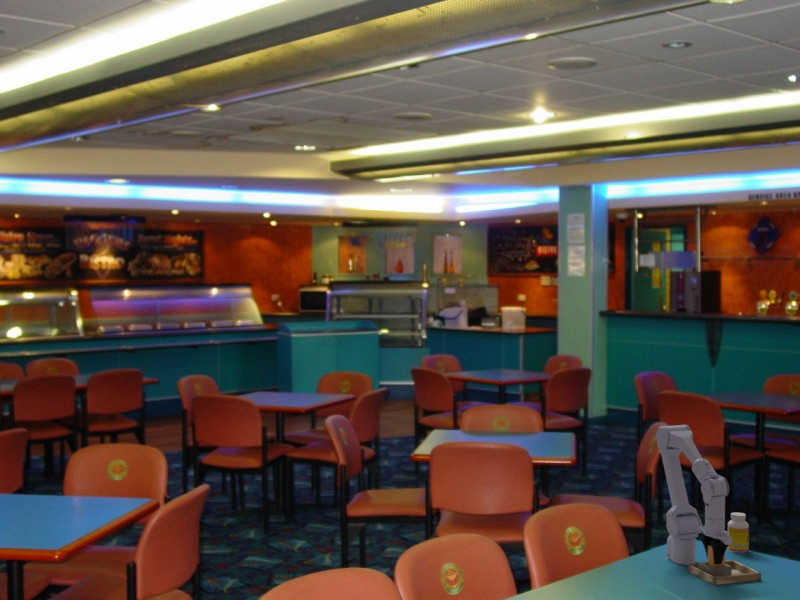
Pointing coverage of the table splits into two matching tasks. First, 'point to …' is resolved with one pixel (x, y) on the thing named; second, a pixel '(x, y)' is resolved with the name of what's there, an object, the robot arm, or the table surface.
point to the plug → (711, 558)
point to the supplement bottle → (738, 533)
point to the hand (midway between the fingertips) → (714, 562)
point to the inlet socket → (715, 569)
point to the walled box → (738, 575)
